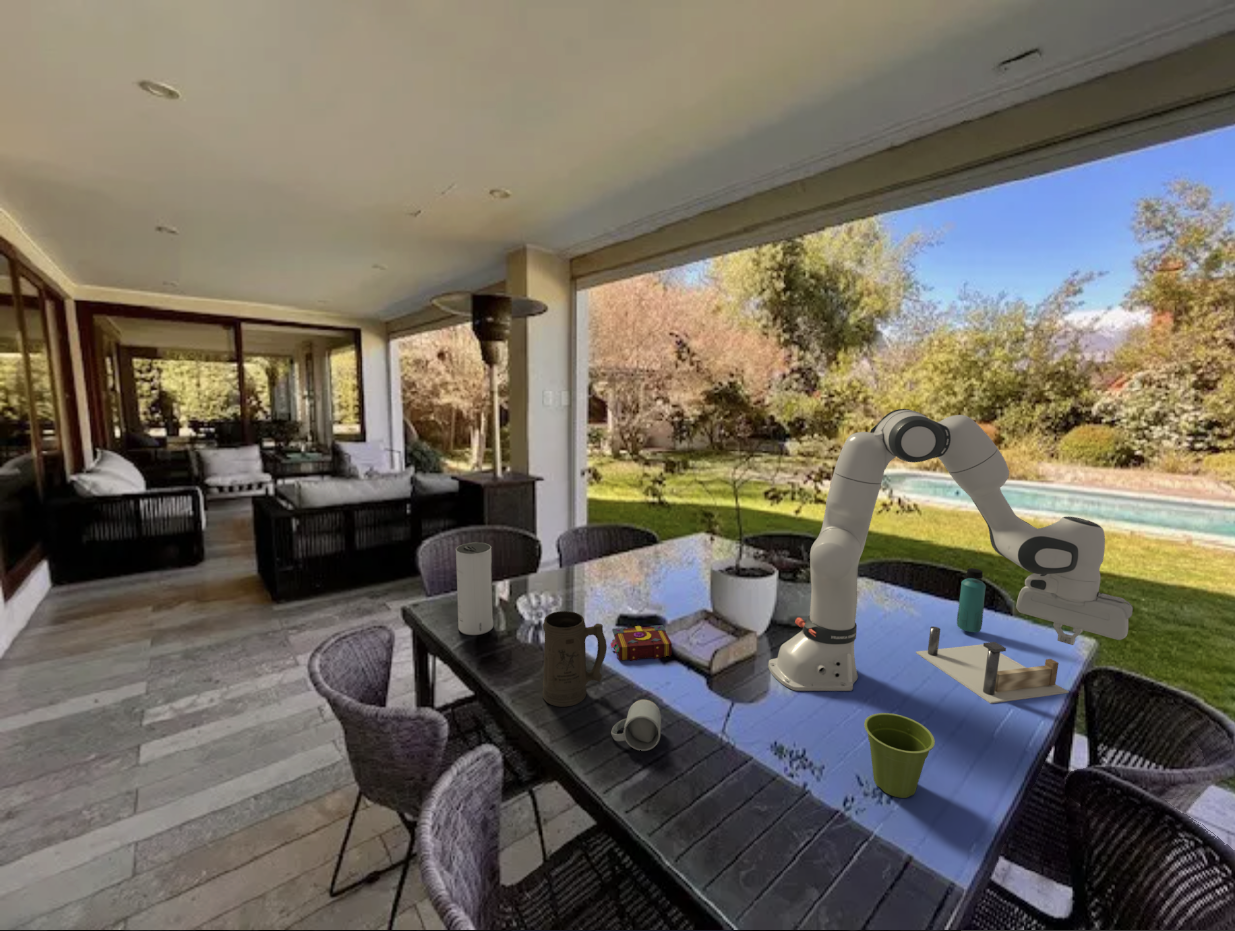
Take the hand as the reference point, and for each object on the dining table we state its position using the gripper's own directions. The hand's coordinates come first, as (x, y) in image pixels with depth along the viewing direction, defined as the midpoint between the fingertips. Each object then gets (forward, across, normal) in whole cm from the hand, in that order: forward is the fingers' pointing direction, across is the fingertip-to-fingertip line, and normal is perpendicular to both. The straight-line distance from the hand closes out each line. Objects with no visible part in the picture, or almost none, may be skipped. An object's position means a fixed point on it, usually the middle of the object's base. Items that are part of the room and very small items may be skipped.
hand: (1065, 642), depth 130 cm
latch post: (+15, +28, 0) cm, 32 cm away
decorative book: (+15, +81, +63) cm, 103 cm away
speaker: (+14, +121, +94) cm, 154 cm away
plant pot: (+15, +12, +58) cm, 61 cm away
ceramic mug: (+15, +52, +88) cm, 104 cm away
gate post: (+15, +12, +9) cm, 21 cm away
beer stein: (+14, +74, +89) cm, 117 cm away
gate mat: (+15, +16, -2) cm, 22 cm away
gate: (+15, +7, 0) cm, 16 cm away
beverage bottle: (+15, +28, -24) cm, 39 cm away
